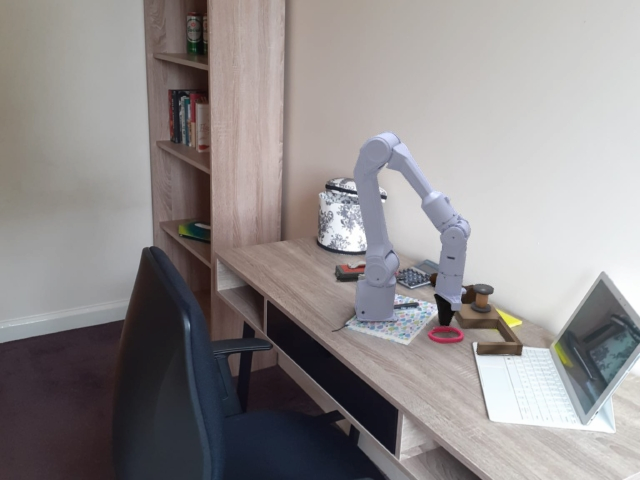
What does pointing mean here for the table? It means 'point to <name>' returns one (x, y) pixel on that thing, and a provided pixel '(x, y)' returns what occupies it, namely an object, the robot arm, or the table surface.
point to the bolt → (465, 298)
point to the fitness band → (445, 340)
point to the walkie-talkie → (353, 272)
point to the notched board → (490, 320)
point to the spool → (482, 298)
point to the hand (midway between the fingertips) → (444, 324)
